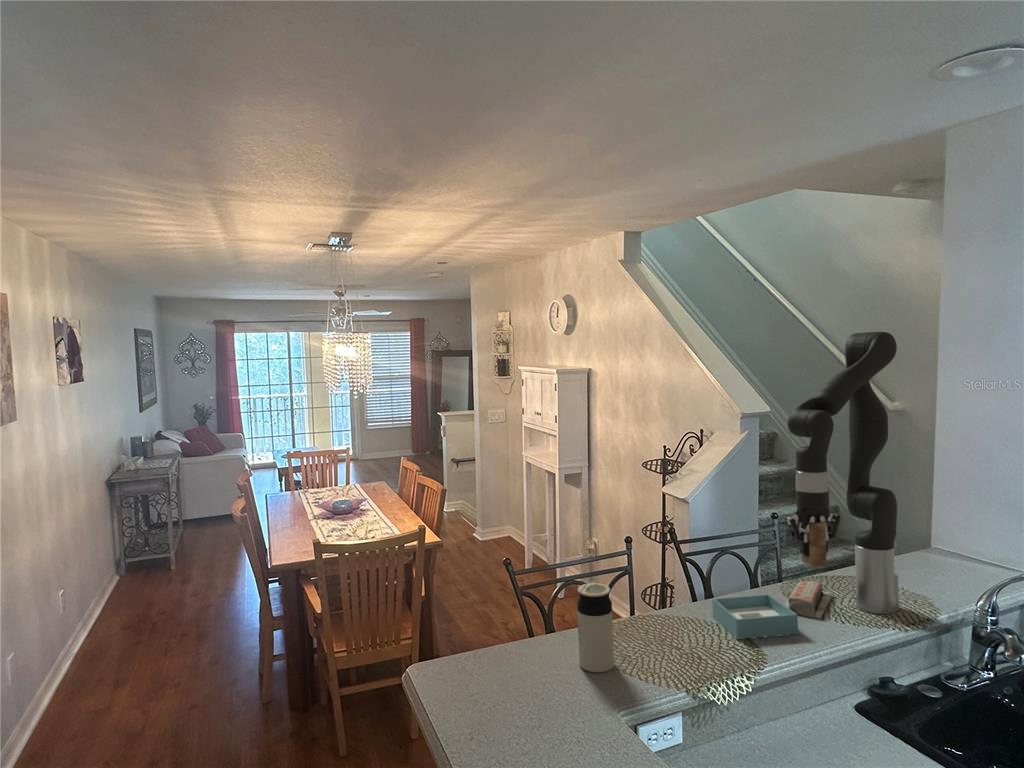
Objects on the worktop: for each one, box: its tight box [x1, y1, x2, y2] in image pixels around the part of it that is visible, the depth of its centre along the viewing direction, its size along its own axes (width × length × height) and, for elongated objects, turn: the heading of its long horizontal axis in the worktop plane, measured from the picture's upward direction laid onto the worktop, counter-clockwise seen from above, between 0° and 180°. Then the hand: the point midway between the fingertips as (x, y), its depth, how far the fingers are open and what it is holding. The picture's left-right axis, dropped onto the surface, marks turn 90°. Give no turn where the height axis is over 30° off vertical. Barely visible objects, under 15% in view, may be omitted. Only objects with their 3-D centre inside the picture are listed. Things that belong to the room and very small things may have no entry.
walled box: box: [712, 593, 799, 640], centre depth 159 cm, size 16×14×5 cm
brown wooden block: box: [801, 522, 827, 568], centre depth 155 cm, size 4×4×11 cm
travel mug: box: [576, 582, 615, 673], centre depth 142 cm, size 8×8×18 cm
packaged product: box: [784, 580, 832, 619], centre depth 172 cm, size 18×5×10 cm
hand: (813, 554), depth 155 cm, fingers closed on brown wooden block, 4 cm apart
